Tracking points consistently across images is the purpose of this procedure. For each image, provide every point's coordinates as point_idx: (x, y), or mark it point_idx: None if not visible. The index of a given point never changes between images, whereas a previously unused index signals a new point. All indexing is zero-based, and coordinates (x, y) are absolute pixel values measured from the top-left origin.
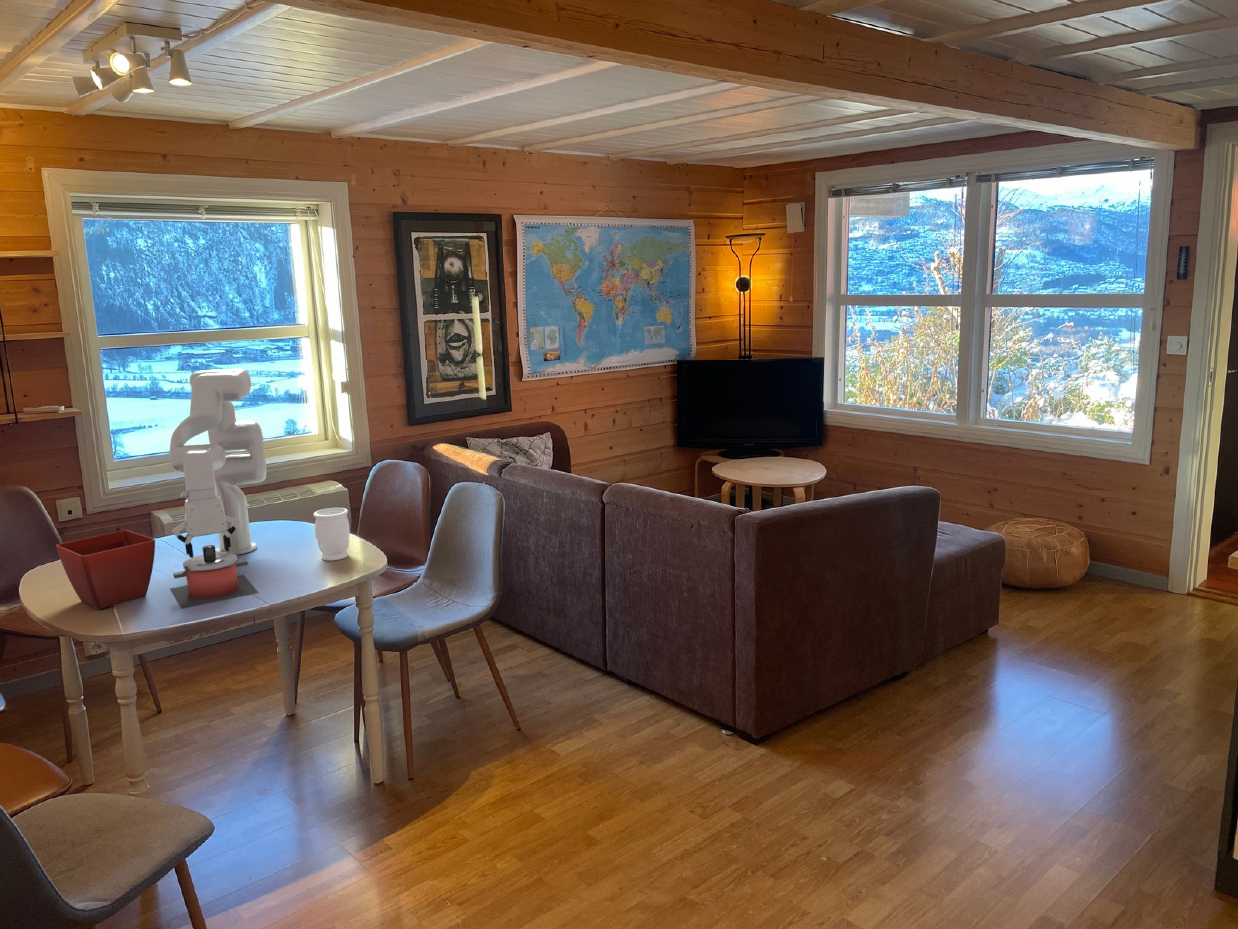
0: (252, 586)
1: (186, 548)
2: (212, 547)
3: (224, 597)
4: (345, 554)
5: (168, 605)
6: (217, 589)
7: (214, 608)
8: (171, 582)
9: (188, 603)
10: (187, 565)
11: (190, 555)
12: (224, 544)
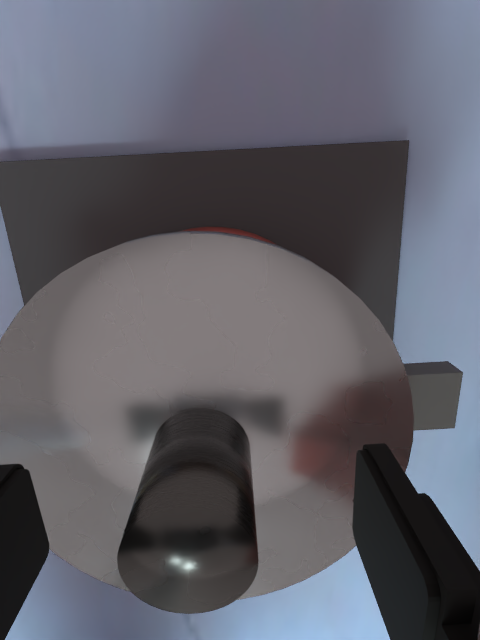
0: (27, 301)
1: (465, 557)
2: (146, 518)
3: (177, 198)
4: None
5: (432, 277)
6: (202, 230)
7: (245, 66)
8: (350, 564)
9: (358, 211)
10: (387, 414)
11: (391, 466)
12: (10, 576)
